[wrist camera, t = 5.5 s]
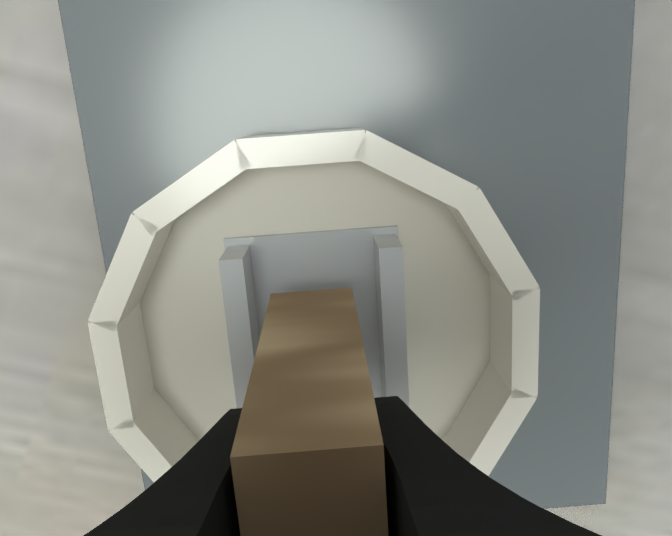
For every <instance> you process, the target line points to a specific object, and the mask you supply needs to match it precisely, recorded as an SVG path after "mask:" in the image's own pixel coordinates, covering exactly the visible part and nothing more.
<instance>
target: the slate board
mask: <svg viewBox="0 0 672 536" xmlns="http://www.w3.org/2000/svg"><path fill="white" fill-rule="evenodd" d="M58 4H59V10H60V15H61V21H62V26H63V32H64V38H65V43H66V49H67V55H68V60H69V66H70V71H71V77H72V83H73V88H74V94H75V100H76V105H77V111H78V116H79V122H80V128H81V133H82V139H83V145H84V150H85V156H86V161H87V167H88V173H89V178H90V184H91V190H92V195H93V201H94V206H95V212H96V218H97V223H98V229H99V235H100V240H101V246H102V251H103V257H104V263H105V268H106V274H107V272H108V269H109V267H110V264H111V262H112V259H113V257H114V254H115V252H116V249H117V247H118V245H119V242H120V240H121V237H122V235H123V232H124V230H125V227H126V225H127V222H128V220H129V217H130V215H131V213H133V211H134V210H136V209H137V208H139V207H140V206H141V205H143V204H144V203H146V202H147V201H149V200H150V199H151V198H153V197H154V196H156V195H157V194H158V193H160V192H161V191H163V190H164V189H165V188H167V187H168V186H170V185H171V184H173V183H174V182H175V181H177V180H178V179H180V178H181V177H182V176H184V175H185V174H187V173H188V172H189V171H191V170H192V169H194V168H195V167H197V166H198V165H199V164H201V163H202V162H204V161H205V160H206V159H208V158H209V157H211V156H212V155H213V154H215V153H216V152H218V151H219V150H220V149H222V148H223V147H225V146H226V145H228V144H229V143H230V142H232V141H233V140H235V139H238V138H242V137H245V136H255V135H269V134H282V133H296V132H305V131H324V130H338V129H352V128H361V129H364V130H367V131H369V132H371V133H373V134H375V135H377V136H379V137H381V138H383V139H385V140H387V141H389V142H391V143H393V144H395V145H397V146H399V147H401V148H403V149H405V150H407V151H409V152H411V153H413V154H415V155H417V156H419V157H421V158H423V159H425V160H427V161H429V162H431V163H433V164H435V165H437V166H439V167H441V168H443V169H445V170H446V171H448V172H450V173H452V174H454V175H456V176H458V177H460V178H462V179H464V180H466V181H468V182H470V183H472V184H474V185H476V186H478V187H479V188H480V189H481V191H482V192H483V194H484V196H485V197H486V199H487V201H488V202H489V204H490V206H491V207H492V209H493V211H494V212H495V214H496V215H497V217H498V219H499V220H500V222H501V224H502V225H503V227H504V229H505V230H506V232H507V234H508V235H509V237H510V239H511V240H512V242H513V244H514V245H515V247H516V249H517V250H518V252H519V253H520V255H521V257H522V258H523V260H524V262H525V263H526V265H527V267H528V268H529V270H530V272H531V273H532V275H533V277H534V278H535V280H536V282H537V283H538V285H539V288H540V316H539V361H538V396H537V399H536V401H535V402H534V404H533V406H532V407H531V409H530V410H529V412H528V414H527V415H526V417H525V418H524V420H523V422H522V423H521V425H520V426H519V428H518V430H517V431H516V433H515V434H514V436H513V438H512V439H511V441H510V443H509V444H508V446H507V447H506V449H505V451H504V452H503V454H502V455H501V457H500V459H499V460H498V462H497V463H496V465H495V467H494V468H493V470H492V471H491V473H490V475H489V477H490V478H492V479H493V480H495V481H497V482H498V483H500V484H501V485H503V486H505V487H506V488H508V489H509V490H511V491H513V492H514V493H516V494H517V495H519V496H521V497H523V498H524V499H526V500H528V501H530V502H532V503H533V504H535V505H537V506H539V507H541V508H543V509H544V508H557V507H569V506H582V505H594V504H606V487H607V470H608V452H609V435H610V418H611V401H612V384H613V367H614V350H615V332H616V315H617V298H618V281H619V264H620V247H621V230H622V212H623V195H624V178H625V161H626V144H627V127H628V110H629V92H630V75H631V58H632V41H633V24H634V7H635V0H58ZM141 471H142V476H143V482H144V488H145V490H146V489H147V488H149V487H150V486H151V485H152V484H153V483H154V482H153V481H152V480H151V479H150V478H149V476H148V475H147V474H146V473H145V472H144V471H143V470H142V469H141Z"/></svg>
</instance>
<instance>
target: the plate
mask: <svg viewBox="0 0 672 536" xmlns="http://www.w3.org/2000/svg"><path fill="white" fill-rule="evenodd" d="M350 287H352V291H353V296H354V301H355V306H356V311H357V315H358V320H359V325H360V330H361V335H362V340H363V345H364V350H365V355H366V360H367V365H368V370H369V375H370V380H371V385H372V390H373V395H374V398H377V397H389V396H398V397H399V398H400V399H401V400H403V401H404V402H405V403H406V405H407V406H408V407H409V408H410V409H411V410H412V411H413V412H414V413H415V414H416V415H417V416H418V417H419V418H420V419H421V420H422V421H423V422H424V423H425V424H426V425H427V426H428V427H429V428H430V429H431V430H432V431H433V432H434V433H435V434H436V435H437V436H439V437H440V438H441V439H442V440H443V441H444V442H445V443H446V444H447V445H449V446H450V447H451V448H452V449H453V450H454V451H455V452H457V453H458V454H459V455H460V456H462V457H463V458H464V459H466V460H467V461H468V462H470V463H471V464H472V465H473V466H475V467H476V468H477V469H479V470H480V471H482V472H483V473H484V474H486V475H487V476H489V475H490V473H491V471H492V470H493V468H494V467H495V465H496V463H497V462H498V460H499V459H500V457H501V455H502V454H503V452H504V451H505V449H506V447H507V446H508V444H509V443H510V441H511V439H512V438H513V436H514V434H515V433H516V431H517V430H518V428H519V426H520V425H521V423H522V422H523V420H524V418H525V417H526V415H527V414H528V412H529V410H530V409H531V407H532V406H533V404H534V402H535V401H536V399H537V396H538V361H539V316H540V288H539V285H538V283H537V282H536V280H535V278H534V277H533V275H532V273H531V272H530V270H529V268H528V267H527V265H526V263H525V262H524V260H523V258H522V257H521V255H520V253H519V252H518V250H517V249H516V247H515V245H514V244H513V242H512V240H511V239H510V237H509V235H508V234H507V232H506V230H505V229H504V227H503V225H502V224H501V222H500V220H499V219H498V217H497V215H496V214H495V212H494V211H493V209H492V207H491V206H490V204H489V202H488V201H487V199H486V197H485V196H484V194H483V192H482V191H481V189H480V188H479V187H478V186H476V185H474V184H472V183H470V182H468V181H466V180H464V179H462V178H460V177H458V176H456V175H454V174H452V173H450V172H448V171H446V170H445V169H443V168H441V167H439V166H437V165H435V164H433V163H431V162H429V161H427V160H425V159H423V158H421V157H419V156H417V155H415V154H413V153H411V152H409V151H407V150H405V149H403V148H401V147H399V146H397V145H395V144H393V143H391V142H389V141H387V140H385V139H383V138H381V137H379V136H377V135H375V134H373V133H371V132H369V131H367V130H364V129H361V128H352V129H338V130H324V131H305V132H296V133H282V134H269V135H255V136H245V137H242V138H238V139H235V140H233V141H232V142H230V143H229V144H228V145H226V146H225V147H223V148H222V149H220V150H219V151H218V152H216V153H215V154H213V155H212V156H211V157H209V158H208V159H206V160H205V161H204V162H202V163H201V164H199V165H198V166H197V167H195V168H194V169H192V170H191V171H189V172H188V173H187V174H185V175H184V176H182V177H181V178H180V179H178V180H177V181H175V182H174V183H173V184H171V185H170V186H168V187H167V188H165V189H164V190H163V191H161V192H160V193H158V194H157V195H156V196H154V197H153V198H151V199H150V200H149V201H147V202H146V203H144V204H143V205H141V206H140V207H139V208H137V209H136V210H134V211H133V213H131V215H130V217H129V220H128V222H127V225H126V227H125V230H124V232H123V235H122V237H121V240H120V242H119V245H118V247H117V249H116V252H115V254H114V257H113V259H112V262H111V264H110V267H109V269H108V272H107V274H106V277H105V279H104V282H103V284H102V286H101V289H100V291H99V294H98V296H97V299H96V301H95V304H94V306H93V309H92V311H91V314H90V316H89V319H88V321H89V322H88V328H89V334H90V339H91V344H92V349H93V355H94V360H95V365H96V370H97V376H98V381H99V386H100V391H101V397H102V402H103V407H104V412H105V418H106V423H107V428H108V430H109V432H110V433H111V435H112V436H113V437H114V438H115V439H116V440H117V441H118V443H119V444H120V445H121V446H122V447H123V448H124V449H125V450H126V452H127V453H128V454H129V455H130V456H131V457H132V458H133V460H134V461H135V462H136V463H137V464H138V465H139V466H140V467H141V469H142V470H143V471H144V472H145V473H146V474H147V475H148V476H149V478H150V479H151V480H152V481H153V482H155V481H156V480H158V479H159V478H160V477H161V476H162V475H163V474H164V473H165V472H167V471H168V470H169V469H170V468H171V467H172V466H173V465H174V464H176V463H177V462H178V461H179V460H180V459H181V458H182V457H183V456H184V455H185V454H186V453H187V452H188V451H189V450H190V449H191V448H192V447H193V446H194V445H195V444H196V443H197V442H198V441H199V440H200V439H201V438H202V437H203V436H204V435H205V434H206V433H207V432H208V431H209V430H210V429H211V428H212V427H213V426H214V425H215V424H216V423H217V422H218V420H219V419H220V418H221V417H222V416H223V415H224V414H225V413H226V412H227V411H229V410H230V409H236V408H242V407H243V403H244V399H245V395H246V391H247V387H248V383H249V379H250V375H251V371H252V367H253V363H254V359H255V355H256V351H257V347H258V343H259V339H260V335H261V331H262V327H263V323H264V319H265V315H266V311H267V307H268V303H269V299H270V295H271V294H272V293H285V292H298V291H311V290H324V289H337V288H350Z"/></svg>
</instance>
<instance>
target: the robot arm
mask: <svg viewBox="0 0 672 536" xmlns="http://www.w3.org/2000/svg"><path fill="white" fill-rule="evenodd" d="M374 400H375V405H376V410H377V415H378V420H379V425H380V430H381V435H382V439H383V444H384V462H385V480H386V498H387V516H388V534H389V536H601V535H599V534H596V533H594V532H592V531H589V530H587V529H585V528H583V527H580V526H578V525H576V524H573V523H571V522H569V521H567V520H565V519H563V518H561V517H559V516H557V515H555V514H553V513H551V512H549V511H547V510H545V509H543V508H541V507H539V506H537V505H535V504H533V503H532V502H530V501H528V500H526V499H524V498H523V497H521V496H519V495H517V494H516V493H514V492H513V491H511V490H509V489H508V488H506V487H505V486H503V485H501V484H500V483H498V482H497V481H495V480H493V479H492V478H490V477H489V476H487V475H486V474H484V473H483V472H482V471H480V470H479V469H477V468H476V467H475V466H473V465H472V464H471V463H470V462H468V461H467V460H466V459H464V458H463V457H462V456H460V455H459V454H458V453H457V452H455V451H454V450H453V449H452V448H451V447H450V446H449V445H447V444H446V443H445V442H444V441H443V440H442V439H441V438H440V437H439V436H437V435H436V434H435V433H434V432H433V431H432V430H431V429H430V428H429V427H428V426H427V425H426V424H425V423H424V422H423V421H422V420H421V419H420V418H419V417H418V416H417V415H416V414H415V413H414V412H413V411H412V410H411V409H410V408H409V407H408V406H407V405H406V403H405V402H404V401H403V400H401V399H400V398H399V397H398V396H389V397H377V398H374ZM241 411H242V408H236V409H230V410H229V411H227V412H226V413H225V414H224V415H223V416H222V417H221V418H220V419H219V420H218V422H217V423H216V424H215V425H214V426H213V427H212V428H211V429H210V430H209V431H208V432H207V433H206V434H205V435H204V436H203V437H202V438H201V439H200V440H199V441H198V442H197V443H196V444H195V445H194V446H193V447H192V448H191V449H190V450H189V451H188V452H187V453H186V454H185V455H184V456H183V457H182V458H181V459H180V460H179V461H178V462H177V463H176V464H174V465H173V466H172V467H171V468H170V469H169V470H168V471H167V472H165V473H164V474H163V475H162V476H161V477H160V478H159V479H158V480H156V481H155V482H154V483H153V484H152V485H151V486H150V487H149V488H147V489H146V490H145V491H144V492H143V493H142V494H140V495H139V496H138V497H137V498H135V499H134V500H133V501H132V502H130V503H129V504H128V505H126V506H125V507H124V508H122V509H121V510H120V511H118V512H117V513H116V514H114V515H113V516H111V517H110V518H109V519H107V520H106V521H104V522H103V523H102V524H100V525H99V526H97V527H96V528H94V529H93V530H92V531H90V532H89V533H87V534H85V535H84V536H240V528H239V521H238V514H237V506H236V499H235V491H234V484H233V476H232V469H231V461H230V455H231V451H232V447H233V443H234V439H235V435H236V431H237V427H238V423H239V419H240V415H241Z"/></svg>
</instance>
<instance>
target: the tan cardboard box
mask: <svg viewBox="0 0 672 536" xmlns="http://www.w3.org/2000/svg"><path fill="white" fill-rule="evenodd" d="M230 461H231V469H232V476H233V484H234V491H235V499H236V506H237V514H238V521H239V528H240V536H389V534H388V516H387V498H386V480H385V462H384V444H383V439H382V435H381V430H380V425H379V420H378V415H377V410H376V405H375V400H374V395H373V390H372V385H371V380H370V375H369V370H368V365H367V360H366V355H365V350H364V345H363V340H362V335H361V330H360V325H359V320H358V315H357V311H356V306H355V301H354V296H353V291H352V287H350V288H337V289H324V290H311V291H298V292H285V293H272V294H271V295H270V299H269V303H268V307H267V311H266V315H265V319H264V323H263V327H262V331H261V335H260V339H259V343H258V347H257V351H256V355H255V359H254V363H253V367H252V371H251V375H250V379H249V383H248V387H247V391H246V395H245V399H244V403H243V407H242V411H241V415H240V419H239V423H238V427H237V431H236V435H235V439H234V443H233V447H232V451H231V455H230Z"/></svg>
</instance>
